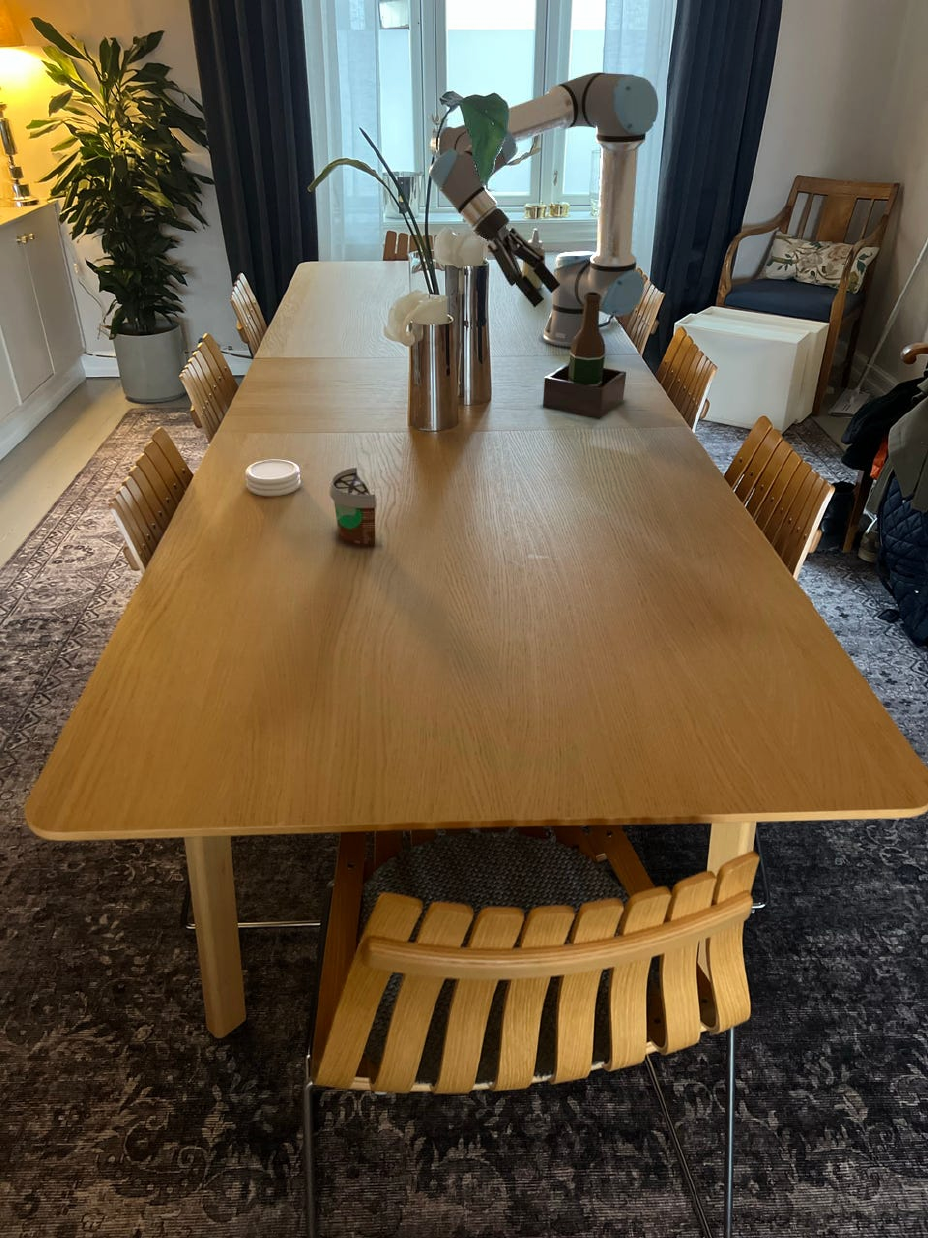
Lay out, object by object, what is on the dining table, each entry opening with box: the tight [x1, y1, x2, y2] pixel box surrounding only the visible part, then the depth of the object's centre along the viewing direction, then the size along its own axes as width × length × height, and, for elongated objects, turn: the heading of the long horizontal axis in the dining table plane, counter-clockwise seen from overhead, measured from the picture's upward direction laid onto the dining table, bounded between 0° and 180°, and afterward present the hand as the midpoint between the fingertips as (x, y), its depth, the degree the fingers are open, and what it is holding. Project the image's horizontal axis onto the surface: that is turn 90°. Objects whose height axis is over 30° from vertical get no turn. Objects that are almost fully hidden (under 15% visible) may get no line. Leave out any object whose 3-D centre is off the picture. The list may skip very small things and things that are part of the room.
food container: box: [328, 467, 377, 548], centre depth 161 cm, size 12×6×10 cm, turn 21°
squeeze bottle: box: [521, 228, 546, 290], centre depth 308 cm, size 8×8×18 cm
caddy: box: [542, 362, 627, 420], centre depth 219 cm, size 14×14×7 cm
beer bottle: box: [568, 292, 606, 388], centre depth 214 cm, size 8×8×24 cm
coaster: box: [244, 459, 301, 498], centre depth 179 cm, size 10×10×4 cm
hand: (548, 296), depth 211 cm, fingers open, 13 cm apart
